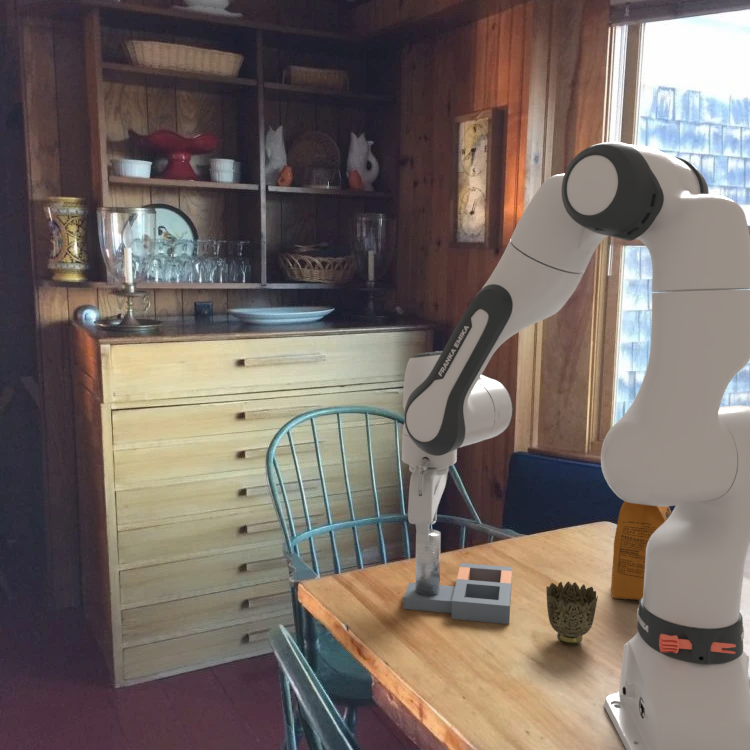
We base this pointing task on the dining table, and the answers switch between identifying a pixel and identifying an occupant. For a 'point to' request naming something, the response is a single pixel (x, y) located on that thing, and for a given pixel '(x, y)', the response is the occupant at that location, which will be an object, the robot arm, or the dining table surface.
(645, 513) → the coffee package
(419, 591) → the peg
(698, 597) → the robot arm
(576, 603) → the cup
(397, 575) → the dining table surface
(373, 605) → the dining table surface
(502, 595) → the rack
